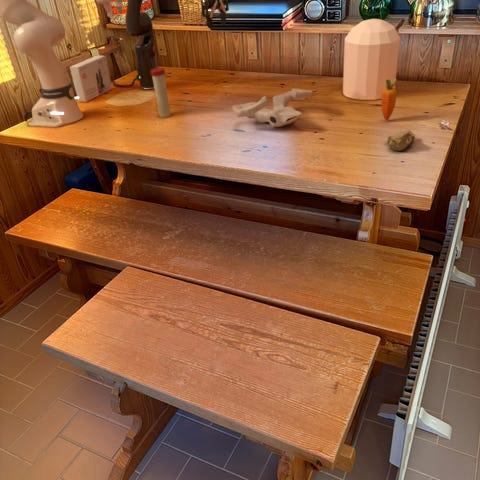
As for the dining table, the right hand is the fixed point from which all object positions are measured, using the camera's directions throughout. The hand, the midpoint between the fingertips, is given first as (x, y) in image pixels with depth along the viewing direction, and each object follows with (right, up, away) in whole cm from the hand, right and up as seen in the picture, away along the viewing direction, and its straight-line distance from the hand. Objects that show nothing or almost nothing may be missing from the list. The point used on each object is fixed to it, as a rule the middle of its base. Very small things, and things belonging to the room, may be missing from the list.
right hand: (217, 25), depth 186 cm
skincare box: (-60, -17, +36) cm, 72 cm away
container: (+63, -24, +7) cm, 68 cm away
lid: (-23, -20, -6) cm, 31 cm away
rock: (+61, -56, -38) cm, 91 cm away
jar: (-22, -35, +4) cm, 41 cm away
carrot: (+62, -44, -20) cm, 78 cm away
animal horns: (+24, -44, -15) cm, 52 cm away
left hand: (-35, -6, -22) cm, 42 cm away
